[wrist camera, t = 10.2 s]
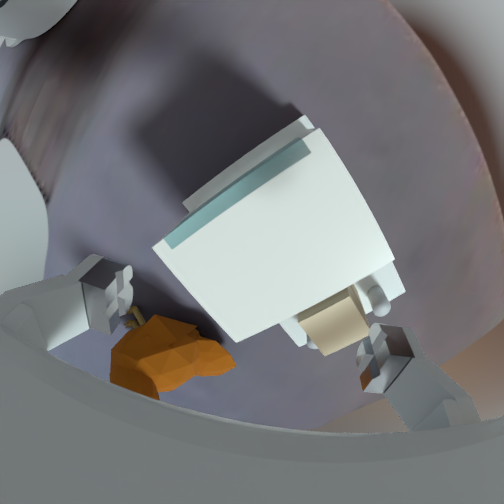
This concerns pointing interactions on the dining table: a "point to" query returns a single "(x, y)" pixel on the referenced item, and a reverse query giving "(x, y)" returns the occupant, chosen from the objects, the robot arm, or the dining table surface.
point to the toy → (164, 355)
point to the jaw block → (335, 321)
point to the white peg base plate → (369, 288)
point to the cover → (276, 239)
